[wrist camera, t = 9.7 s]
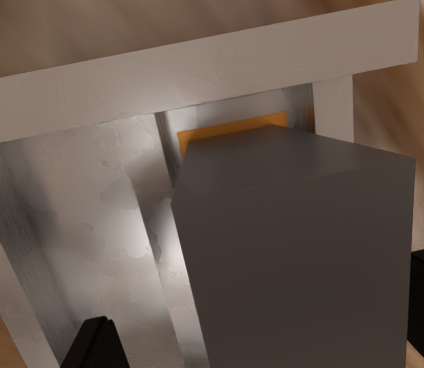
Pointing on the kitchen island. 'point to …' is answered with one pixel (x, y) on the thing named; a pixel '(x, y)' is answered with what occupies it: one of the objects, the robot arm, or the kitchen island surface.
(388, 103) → the kitchen island surface
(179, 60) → the rack
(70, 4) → the kitchen island surface
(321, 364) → the panel
